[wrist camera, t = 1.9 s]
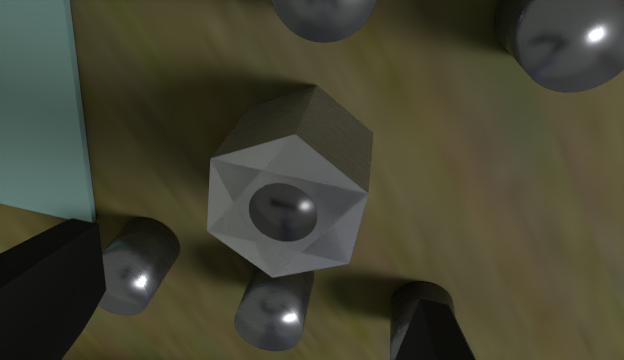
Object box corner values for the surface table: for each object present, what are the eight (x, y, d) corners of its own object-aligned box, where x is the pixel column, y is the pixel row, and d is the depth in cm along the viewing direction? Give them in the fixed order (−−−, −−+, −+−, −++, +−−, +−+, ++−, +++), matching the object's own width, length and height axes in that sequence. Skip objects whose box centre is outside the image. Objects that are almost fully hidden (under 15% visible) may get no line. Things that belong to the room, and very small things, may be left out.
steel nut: (350, 219, 17) (341, 293, 14) (241, 195, 17) (205, 262, 14) (382, 98, 15) (379, 152, 11) (253, 71, 15) (212, 116, 11)
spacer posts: (442, 331, 19) (449, 394, 17) (125, 257, 20) (86, 306, 18) (613, -28, 12) (673, -13, 9) (93, -127, 13) (17, -139, 10)
